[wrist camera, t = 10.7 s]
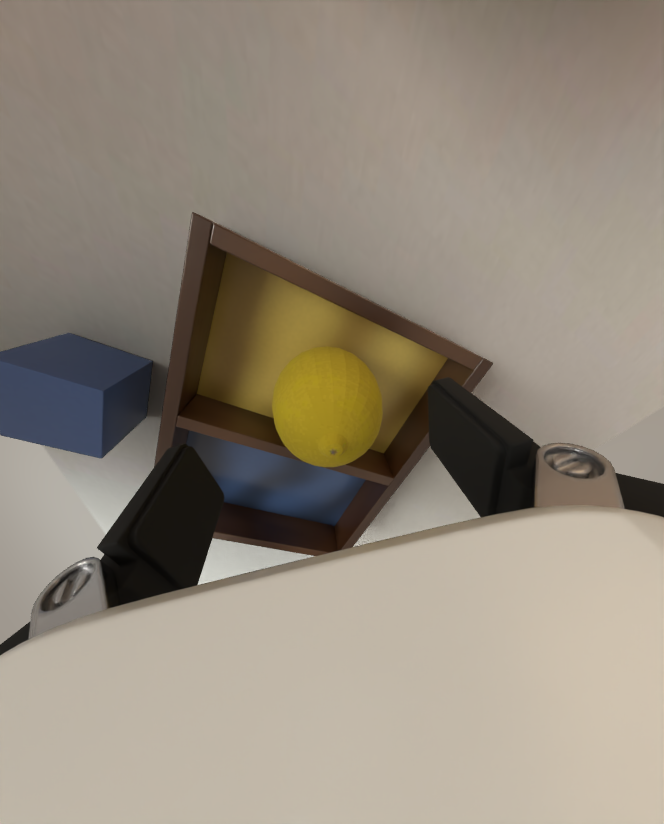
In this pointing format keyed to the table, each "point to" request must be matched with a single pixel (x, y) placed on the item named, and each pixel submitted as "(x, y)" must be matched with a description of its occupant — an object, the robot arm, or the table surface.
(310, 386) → the lemon
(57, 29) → the table surface
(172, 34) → the table surface
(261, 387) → the sorting tray
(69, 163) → the table surface
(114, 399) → the blue block
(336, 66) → the table surface
